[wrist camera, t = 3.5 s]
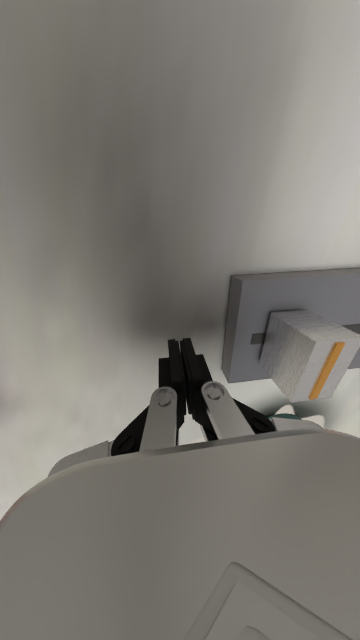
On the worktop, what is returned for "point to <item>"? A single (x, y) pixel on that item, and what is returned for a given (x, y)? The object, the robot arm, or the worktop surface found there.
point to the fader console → (281, 296)
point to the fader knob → (307, 354)
